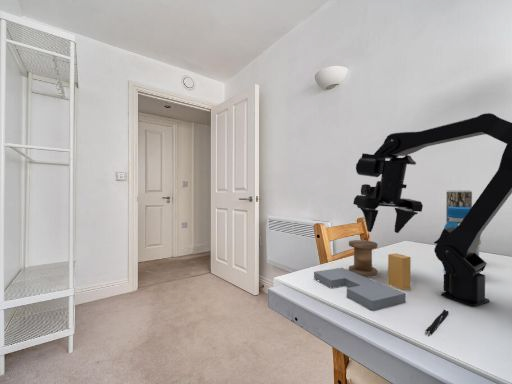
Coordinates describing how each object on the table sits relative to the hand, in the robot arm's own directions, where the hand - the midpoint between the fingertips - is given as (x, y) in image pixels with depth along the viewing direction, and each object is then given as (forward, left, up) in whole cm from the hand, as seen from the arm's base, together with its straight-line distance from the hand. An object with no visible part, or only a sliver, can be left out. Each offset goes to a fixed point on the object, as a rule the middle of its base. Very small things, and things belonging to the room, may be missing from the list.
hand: (382, 232), depth 72 cm
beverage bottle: (-9, -22, -13) cm, 27 cm away
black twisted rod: (-23, +13, -13) cm, 29 cm away
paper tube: (-1, -36, -13) cm, 38 cm away
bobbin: (+4, +3, -13) cm, 14 cm away
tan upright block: (-8, +3, -13) cm, 15 cm away
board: (-5, +15, -13) cm, 20 cm away
